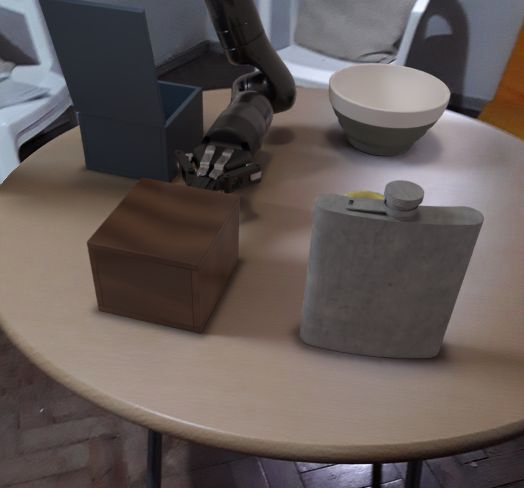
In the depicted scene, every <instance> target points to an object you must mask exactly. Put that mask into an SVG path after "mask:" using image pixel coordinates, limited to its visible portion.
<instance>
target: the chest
mask: <svg viewBox="0 0 524 488" xmlns="http://www.w3.org/2000/svg"><path fill="white" fill-rule="evenodd" d="M158 83H159V88H160V94H161V99H162V104H163V110H164V115H165V120H166V125H165V127H161V126H155V125H149V124H143V123H138V122H132V121H126V120H120V119H114V118H109V117H103V116H97V115H91V114H86V113H80V112H76V113H77V120H78V125H79V131H80V137H81V138H80V139H81V145H82V150H83V157H84V162H85V163H84V164H85V169H86V170H90V171H96V172H101V173H107V174H112V175H116V176H122V177H126V178H127V177H128V178H132V179H137V180H140V179H141V178H148V179H153V180H158V181H164V182H169V183H172V181H173V180H174V179H175V177H176V176H177V175H179V173H178V172H177V170H176V168H175V155H174V151H175V150H182V151H183V152H184V154H189V153H192V151H193V149H194V148H196V147H198V146H200V145H201V143H202V140H203V138H204V96H203V95H204V93H203V91H204V87H203V86H197V85H196V86H195V85H189V84H183V83H177V82H172V81H165V80H159V79H158Z"/></svg>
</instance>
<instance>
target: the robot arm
mask: <svg viewBox="0 0 524 488" xmlns="http://www.w3.org/2000/svg"><path fill="white" fill-rule="evenodd" d="M202 2H203V4H204V7H205V8H206V11H207V14H208V16H209V18H210V21H211V23H212V26H213V29H214V32H215V34H216V36H217V38H218V41H219V44H220V46H221V48H222V51H223V53H224V56H225V58H226V59H227V61H228V62H229V64H231V65H234V66H250V67H253V68H256V69H257V70H256V71H253V72H249V73H246V74H243V75H241V76H239V77H238V78H236V79H235V80H234V81H233V82H232V84H231V90H230V101H229V103H228V105H227V107H226V108H225V109H224V110H222V111H221V112H220V113H219V115H218V116H217V117H216V119H215V120H214V122H213V123H212V125H211V126H210V127H209V129H208V130H207V132H206V133H205V134H204V135H203V140H202V143H201V144H200V145H199V146H198V147H196V148H194V149H193V151H192V153H189V154H184V152H183V151H182V150H175V151H174V155H175V168H176V170H177V172H178V175H179V176H180V178H181V180H182V181H183V182H184V185H185V186H190V187H195V188H201V189H206V190H211V191H217V192H221V191H223V193H227V194H233V193H236V192H238V191H242V190H244V189H246V188H249V187H253V186H255V185H258V184H260V183H261V182H262V166H263V165H262V164H261V163H260V162H254V163H253V161H254V159H256V156H257V154H258V152H259V151H260V150H261V148H262V146H263V143H264V140H265V136H266V134H267V132H268V131H269V130H270V127H271V125H272V123H273V120H274V115H276V114H281V113H284V112H287V111H290V110H291V109H292V108H293V107H294V105H295V104H296V101H297V97H298V90H297V84H296V81H295V78H294V76H293V74H292V72H291V71H290V69H289V68H288V66H287V65H286V63H285V62H284V60H283V59H282V58H281V56H280V55H279V53H278V52H277V50H276V48H275V47H274V46H273V44H272V42H271V41H270V38H268V35H267V33H266V30H265V28H264V24H263V22H262V18H261V16H260V13H259V10H258V8H257V5H256V3H255V0H202ZM193 164H194V165H193ZM194 166H195V167H194ZM195 168H196V169H197V171H196V169H195ZM233 180H236V182H233Z"/></svg>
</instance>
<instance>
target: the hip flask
mask: <svg viewBox="0 0 524 488" xmlns="http://www.w3.org/2000/svg"><path fill="white" fill-rule="evenodd" d="M383 195H384V198H385V199H384V200H382V199H371V198H359V197H348V196H344V195H343V194H338V193H330V192H328V193H322V194H320V195H318V196H317V197H316V198H315V202H314V208H313V209H314V210H313V218H312V226H311V233H310V241H309V251H308V258H307V268H306V269H307V270H306V276H305V283H304V285H305V286H304V292H303V300H302V301H303V302H302V310H301V319H300V324H299V325H300V326H299V327H300V328H299V333H298V335H299V336H298V337H299V339H300V340H301V341H302V342H303V343H304V344H306V345H309V346H313V347H317V348H321V349H325V350H329V351H335V352H340V353H341V352H342V353H345V354H346V353H347V354H352V355H360V356H368V357H377V358H378V357H379V358H389V359H390V358H391V359H392V358H395V359H431V358H435V357H437V356H438V355H439V353H440V350H441V347H442V344H443V342H444V338H445V335H446V332H447V329H448V327H449V323H450V320H451V318H452V315H453V312H454V309H455V306H456V303H457V300H458V297H459V294H460V291H461V288H462V285H463V282H464V280H465V277H466V274H467V270H468V267H469V265H470V262H471V260H472V256H473V253H474V250H475V248H476V244H477V241H478V239H479V235H480V232H481V230H482V228H483V227H482V226H483V224H484V222H485V216H484V214H483V213H482V212H481V211H479V210H478V209H476V208H474V207H471V206H461V205H458V206H457V205H456V206H454V205H452V206H446V205H443V206H442V205H441V206H440V205H421V204H423V202H424V201H423V200H424V196H425V189H424V188H423V187H422V186H421V185H419V184H417V183H415V182H413V181H408V180H404V179H398V180H391V181H389V182H388V183H386V184H385V186H384V191H383Z"/></svg>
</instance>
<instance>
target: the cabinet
mask: <svg viewBox="0 0 524 488" xmlns="http://www.w3.org/2000/svg"><path fill="white" fill-rule="evenodd" d="M240 198H241V196H240V195H237V194H233V193H230V194H227V193H224V192H223V191H222V192H221V191H219V192H217V191H211V190H206V189H201V188H195V187H190V186H186V184H178V183H173V182H171V183H169V182H164V181H158V180H153V179H148V178H141V179H138V181H137V182H136V184H134V186H132V188H131V189H130V190H129V191H128V193H127V194H126V195H125V196H124V198H123V199H122V200H121V201H120V202H119V203H118V205H116V207H115V208H114V209H113V210H112V211H111V212H110V214H109V215H108V216H107V217H106V219H104V221H103V222H102V223H101V224H100V226H98V228H97V229H96V230H95V232H94V233H93V234H92V235H91V236H90V237H89V238H88V239H87V241H86V246H87V252H88V258H89V265H90V269H91V274H92V281H93V285H94V291H95V297H96V302H97V309H98V311H100V312H104V313H109V314H113V315H118V316H122V317H126V318H131V319H135V320H139V321H144V322H149V323H153V324H157V325H162V326H165V327H170V328H174V329H179V330H183V331H186V332H187V331H188V332H193V333H196V334H201V333H202V331H203V329H204V327H205V326H206V324H207V322H208V320H209V318H210V316H211V314H212V312H213V311H214V308H215V307H216V304H217V303H218V300H219V299H220V297H221V295H222V293H223V291H224V289H225V287H226V285H227V283H228V281H229V280H230V278H231V276H232V274H233V272H234V270H235V268H236V266H237V264H238V262H239V245H240V244H239V243H240V205H241V204H240Z"/></svg>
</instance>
